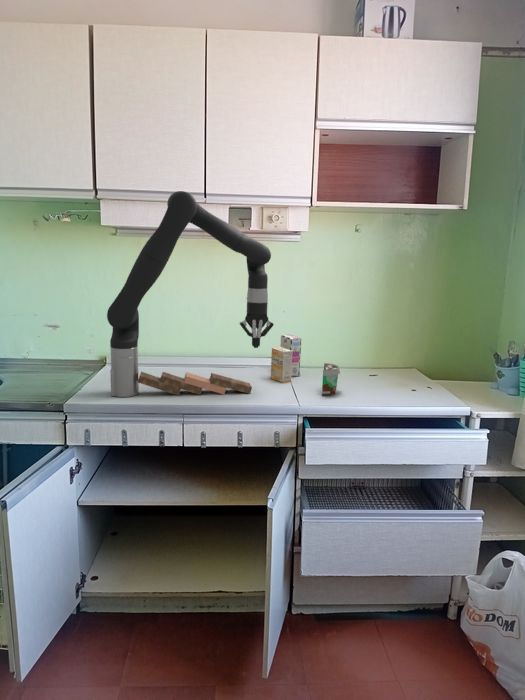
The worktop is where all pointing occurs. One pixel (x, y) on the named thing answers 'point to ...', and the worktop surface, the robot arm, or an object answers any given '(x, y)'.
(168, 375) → the middle walnut tile
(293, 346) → the candy bar box
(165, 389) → the near walnut tile
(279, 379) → the supplement box
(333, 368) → the food container
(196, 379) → the terracotta tile
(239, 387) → the wood grain beam
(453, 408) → the worktop surface
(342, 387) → the worktop surface
